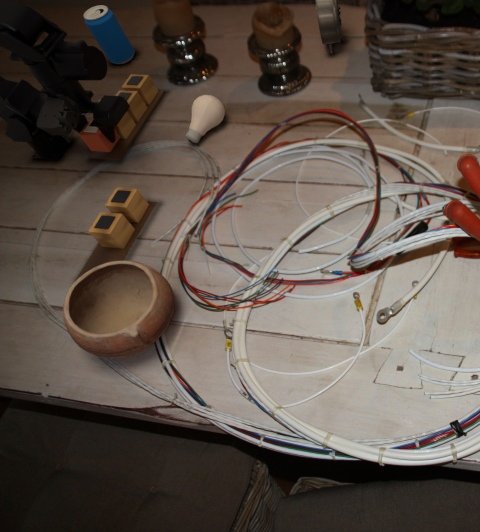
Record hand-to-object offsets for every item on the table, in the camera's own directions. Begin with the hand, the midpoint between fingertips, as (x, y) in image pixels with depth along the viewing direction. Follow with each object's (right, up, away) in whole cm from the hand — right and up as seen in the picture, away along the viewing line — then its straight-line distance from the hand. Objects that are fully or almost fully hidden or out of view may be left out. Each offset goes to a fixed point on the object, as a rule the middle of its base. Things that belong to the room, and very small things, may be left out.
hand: (103, 140), depth 112 cm
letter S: (0, 0, +1) cm, 1 cm away
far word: (+2, +5, +7) cm, 9 cm away
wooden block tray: (+10, -21, -12) cm, 26 cm away
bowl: (+18, -36, -23) cm, 46 cm away
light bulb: (+21, +3, +3) cm, 21 cm away
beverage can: (-7, +25, +22) cm, 34 cm away
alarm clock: (+46, +27, +16) cm, 55 cm away
